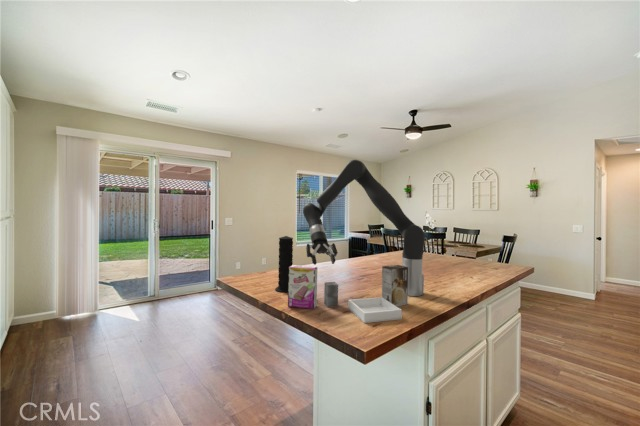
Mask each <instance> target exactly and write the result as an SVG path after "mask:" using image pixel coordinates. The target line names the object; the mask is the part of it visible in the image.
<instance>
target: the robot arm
mask: <svg viewBox="0 0 640 426" xmlns="http://www.w3.org/2000/svg"><path fill="white" fill-rule="evenodd" d="M354 180H355V182H357V183H358V184H359V185H360V186H361V187H362V188H363V190H364V191H365V192H366V195H367V196H368V197H369V200H370V201H371V203H372V204H373V205H374V206H375V207H376V209H377V210H378V211H379V212H380V213H381V214H382V216H384V217H385V218H386V219H387V220H389V221H390V222H391V223H392V225H394V227H395V228H396V229H397V231H398V232H399V234H400V235H401V237H402V238H403V246H402V247H403V248H402V253H401V254H402V256H401V257H402V261H401V266H405V267H408V296H409V297H420V296H422V295H424V291H425V290H424V288H425V287H424V285H425V283H424V282H425V274H423V255H424V252H425V251H424V250H425V249H424V248H425V233H424V232H425V231H424V230H423V228H422V227H421V226H419V225H417V224H415V223H414V222H413V221H412V220H411V219H409V217H408V216H407V215H406V214H405V213H404V212H403V210H402V208H401V206H400V205H399V204H398V201H396V199H395V198H394V197H393V196H392V194H391V193H390V192H389V191H388V190H387V189H386V188H385V187H384V186H383V185H382V184H381V183H380V182H379V181H377V179H375V177H374V176H373V175H372V174H371V172H370V170H368V168H367V166H366V164H365V163H364V162H363V161H361V160H359V159H352V160H349V161H348V162H347V164H346V165H345V166H344V168H343V169H342V170H341V172H340V173H339V175H338V176H337V177H336V178H335V179H334V180H333V181H332V183H330V184H329V185H328V186H327V187H326V188H325V189H324V190H323V191H322V192H321V193H320V194H319V195H318V196H317V198H316V202H317V203H318V206H317V205H315V204H314V203H312V202H307V203H305V205H304V206H303V208H302V213H303V217H304V218H305V220H306V222H307V224H308V229H309V236H310V240H311V244H310V243H307V244H306V247H305V249H306V250H305V251H306V257H307V258H311V261H312V264H313V265H314V266H315V265H317V263H318V262H317V258H316V255H317V254H319V255H320V254H324V255H327V256H329V257H330V262H331V264H332V265H334V264H335V262H336V257H337V255H338V253H339V252H338V249H337V247H336V244H335V243H332V244H329V241H328V239H327V238H328V237H327V233H326V230H325V227H324V224H323V221H322V219H321V218H322V216H323V215H324V213H325V212H326V210H327V208H328V206H330V204H332V202H333V201H334V200H336V199H337V197H338V196H339V195H340V194H341V192H342V191H343V190H344V189H345V188H346V187H347V186H348V185H349V184H350V183H352V182H353V181H354ZM311 250H313V252H311Z"/></svg>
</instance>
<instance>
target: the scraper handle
mask: <svg viewBox="0 0 640 426" xmlns="http://www.w3.org/2000/svg"><path fill="white" fill-rule="evenodd" d="M323 295H324V297H323V301H324V302H323V304H324V305H325V306H326V307H327V308H334V307H339V284H338V283H336V281H330V282H327V281H325V282H324V294H323Z"/></svg>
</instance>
